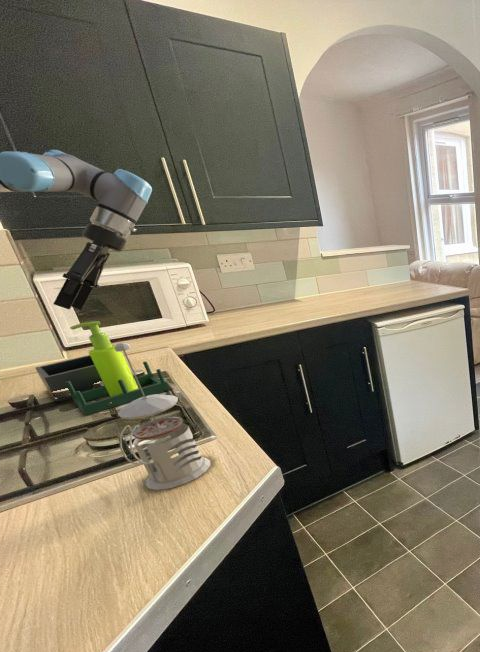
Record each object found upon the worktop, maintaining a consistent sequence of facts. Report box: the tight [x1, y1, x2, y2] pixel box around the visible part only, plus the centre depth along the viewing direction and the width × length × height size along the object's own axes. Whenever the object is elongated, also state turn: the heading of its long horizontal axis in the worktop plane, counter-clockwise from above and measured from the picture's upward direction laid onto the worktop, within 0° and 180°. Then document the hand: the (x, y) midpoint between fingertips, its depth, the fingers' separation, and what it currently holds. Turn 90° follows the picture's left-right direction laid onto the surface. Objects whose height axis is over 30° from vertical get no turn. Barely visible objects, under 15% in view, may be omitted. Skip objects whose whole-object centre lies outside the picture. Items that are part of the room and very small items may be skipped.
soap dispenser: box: [69, 320, 140, 397], centre depth 106 cm, size 6×7×20 cm
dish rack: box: [65, 361, 171, 416], centre depth 109 cm, size 17×12×6 cm
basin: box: [34, 354, 102, 403], centre depth 116 cm, size 16×14×7 cm
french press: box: [115, 341, 211, 491], centre depth 71 cm, size 10×12×25 cm
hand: (68, 307), depth 103 cm, fingers open, 13 cm apart
